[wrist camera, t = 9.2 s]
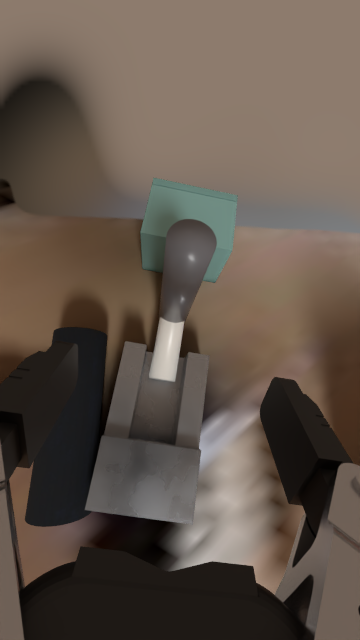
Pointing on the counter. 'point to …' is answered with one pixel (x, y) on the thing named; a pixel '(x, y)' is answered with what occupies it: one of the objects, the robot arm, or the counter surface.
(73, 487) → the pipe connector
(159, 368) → the grey piece
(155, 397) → the grey grooved block
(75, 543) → the counter surface
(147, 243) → the teal block
